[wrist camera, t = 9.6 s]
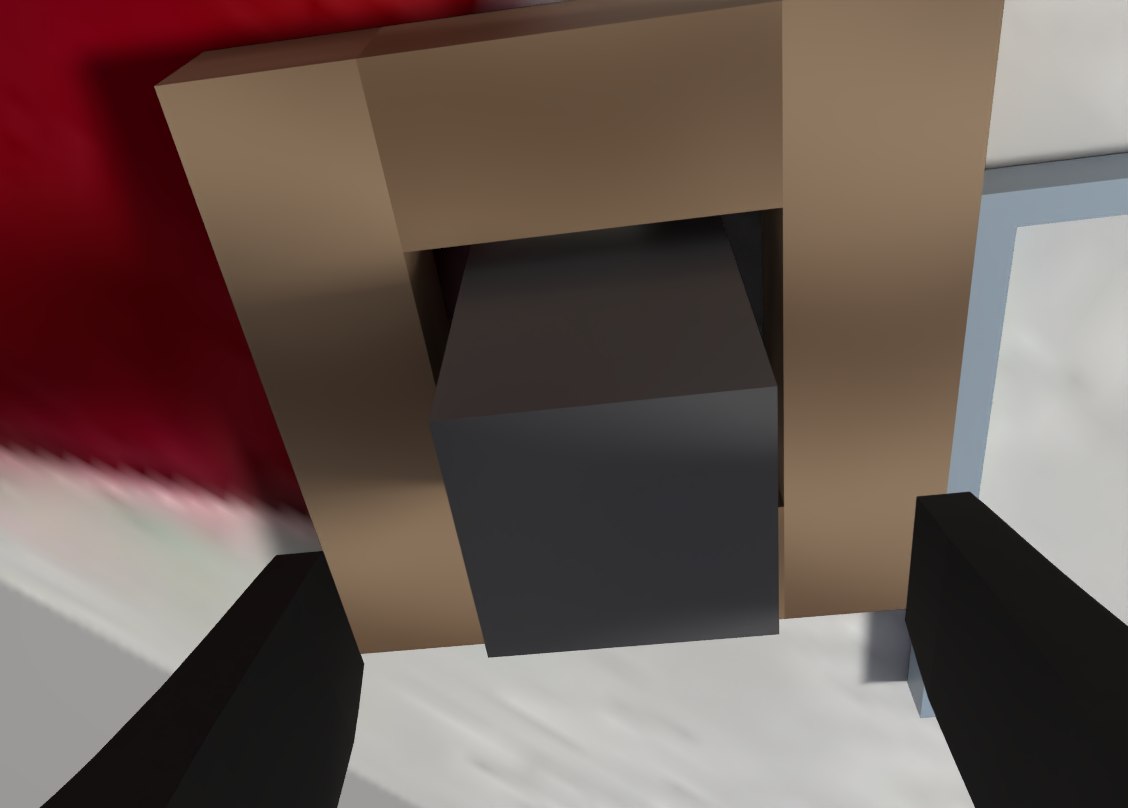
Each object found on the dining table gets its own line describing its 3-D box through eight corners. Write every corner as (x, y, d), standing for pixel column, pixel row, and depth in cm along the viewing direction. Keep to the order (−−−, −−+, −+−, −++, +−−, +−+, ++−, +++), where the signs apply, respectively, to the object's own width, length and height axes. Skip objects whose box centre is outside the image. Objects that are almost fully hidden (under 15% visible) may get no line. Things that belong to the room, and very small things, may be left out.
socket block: (902, 536, 19) (932, 606, 18) (378, 583, 20) (360, 653, 19) (954, -53, 13) (1008, -31, 12) (204, 51, 14) (154, 86, 13)
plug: (722, 395, 18) (778, 634, 13) (513, 415, 18) (488, 657, 13) (713, 192, 16) (778, 386, 10) (475, 222, 16) (427, 422, 11)
